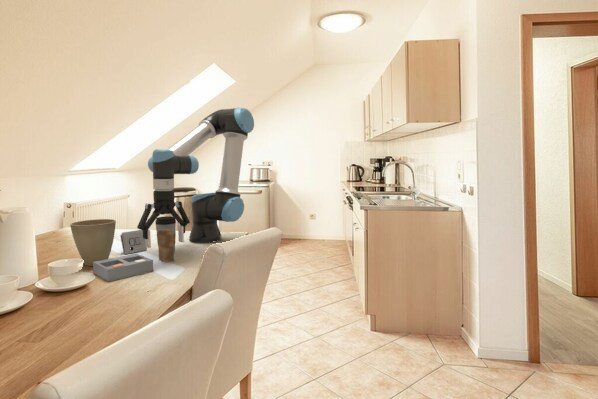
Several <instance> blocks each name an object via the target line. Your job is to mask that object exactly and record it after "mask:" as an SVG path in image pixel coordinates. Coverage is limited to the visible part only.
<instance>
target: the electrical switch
mask: <svg viewBox="0 0 598 399" xmlns="http://www.w3.org/2000/svg"><path fill="white" fill-rule="evenodd" d="M119 236H120V241H121V245H122V252H123V254H124V255H132V254H137V253H140V252H145V251H147V249H148V248H147V247H145V239H143V230H141V229H138V230H137V229H136V230H130V231H124V232H121V234H120V235H119Z"/></svg>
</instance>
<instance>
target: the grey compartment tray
mask: <svg viewBox="0 0 598 399" xmlns="http://www.w3.org/2000/svg"><path fill="white" fill-rule="evenodd" d="M92 269H93V274H94V275H96V276H98V277H99V278H100V279H101V278H102V279H103V280H104V281H106V282H113V281H116V280H121V279H126V278H130V277H134V276H138V275H142V274H147V273H151V272H153V271H154V260H153V259H151V258H148V257H146V256H144V255H140V254H138V253H131V254H126V255H122V256H117V257H112V258H108V259H106V260H101V261H95V262H93V266H92Z"/></svg>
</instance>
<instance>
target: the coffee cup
mask: <svg viewBox="0 0 598 399" xmlns="http://www.w3.org/2000/svg"><path fill="white" fill-rule="evenodd" d="M154 223H155V230H156V240H157V242H156V243H157V249H158V250H159V242H158V230H163V229H170V230H173V248H174V252H175V251H176V250H175V249H176V234H177V232H176V225H177V220H176V219H175V218H174V217H173V216H172V215H171V216H170V215H169V216H167V215H166V216H158V217H157V218H156V220H155V221H154Z"/></svg>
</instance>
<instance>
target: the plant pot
mask: <svg viewBox="0 0 598 399" xmlns="http://www.w3.org/2000/svg"><path fill="white" fill-rule="evenodd" d="M116 221H117V220H116V219H112V218H111V219H110V218H99V219H98V218H97V219H95V218H94V219H86V220H79V221H78V220H77V221H73V222H70V223H69V226H70V229H71V234H72V237H73V241H74V243H75V244H74V245H75V246H76V249H77V251H78V254H79V255H80V258H81V260H82V259H83V260H84V262H83V263H84V266H87V267H93V262H95V261H101V260H106V259H110V258H109V257H110V254H111V252H112V247H113V243H114V240H115V239H114V238H115V234H116V224H117V222H116ZM83 260H82V261H83Z"/></svg>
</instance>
